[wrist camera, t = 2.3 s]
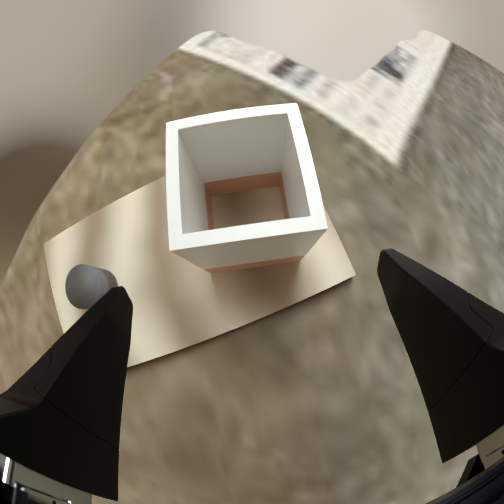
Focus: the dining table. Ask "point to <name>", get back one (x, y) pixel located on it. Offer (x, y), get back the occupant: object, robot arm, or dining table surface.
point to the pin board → (180, 270)
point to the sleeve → (241, 186)
